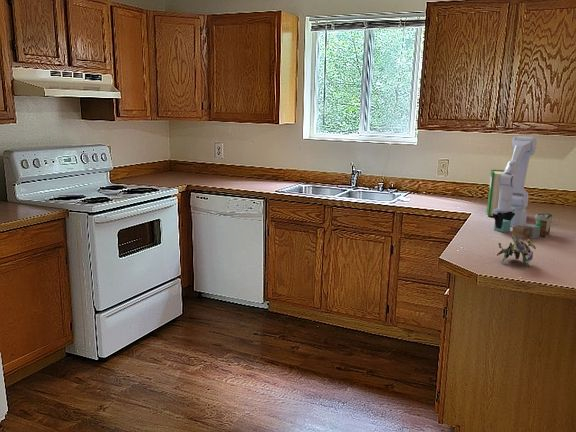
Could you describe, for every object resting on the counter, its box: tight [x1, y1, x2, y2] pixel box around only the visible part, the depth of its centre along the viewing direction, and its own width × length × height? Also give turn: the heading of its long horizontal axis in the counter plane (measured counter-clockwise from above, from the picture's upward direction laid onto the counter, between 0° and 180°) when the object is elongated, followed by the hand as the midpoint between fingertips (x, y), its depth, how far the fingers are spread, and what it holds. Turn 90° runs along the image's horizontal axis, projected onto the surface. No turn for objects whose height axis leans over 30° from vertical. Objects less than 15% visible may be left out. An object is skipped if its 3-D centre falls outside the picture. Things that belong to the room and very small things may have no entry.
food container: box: [534, 211, 553, 239], centre depth 236 cm, size 12×6×10 cm, turn 143°
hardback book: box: [486, 169, 505, 218], centre depth 282 cm, size 18×7×24 cm, turn 161°
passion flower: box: [496, 233, 537, 268], centre depth 188 cm, size 13×12×14 cm
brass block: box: [511, 225, 530, 240], centre depth 230 cm, size 5×5×5 cm
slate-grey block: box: [524, 224, 541, 239], centre depth 233 cm, size 5×5×5 cm
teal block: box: [493, 219, 512, 233], centre depth 244 cm, size 5×5×5 cm
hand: (502, 227), depth 244 cm, fingers closed on teal block, 5 cm apart
